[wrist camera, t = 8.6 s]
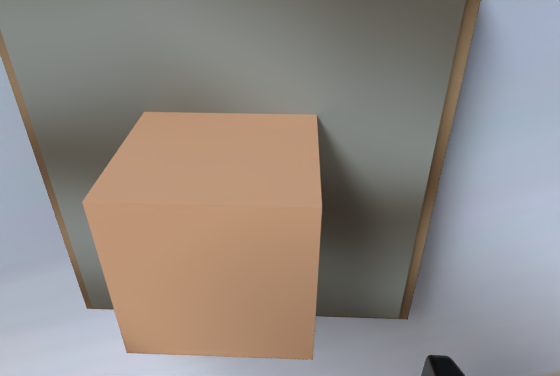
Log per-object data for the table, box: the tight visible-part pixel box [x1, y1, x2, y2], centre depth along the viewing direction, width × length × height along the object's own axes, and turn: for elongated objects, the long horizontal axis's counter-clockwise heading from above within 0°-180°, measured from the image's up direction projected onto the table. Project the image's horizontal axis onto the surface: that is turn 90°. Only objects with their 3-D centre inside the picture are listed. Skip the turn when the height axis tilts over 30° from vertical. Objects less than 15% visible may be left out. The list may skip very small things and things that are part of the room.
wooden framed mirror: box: [0, 0, 481, 319], centre depth 16 cm, size 13×13×3 cm
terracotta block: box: [82, 112, 322, 360], centre depth 13 cm, size 5×5×4 cm
